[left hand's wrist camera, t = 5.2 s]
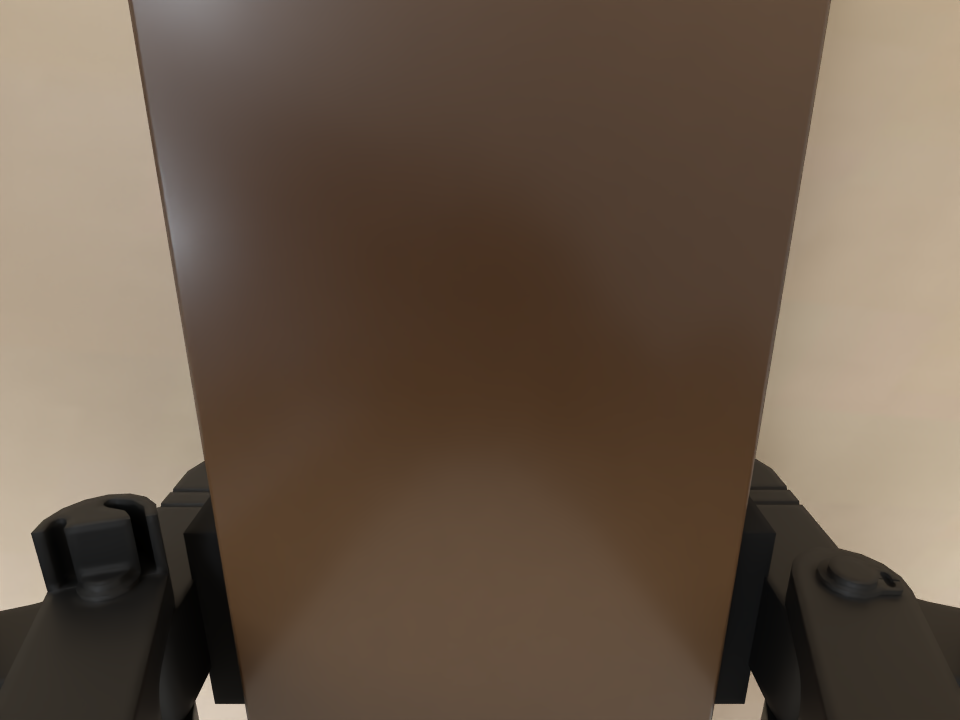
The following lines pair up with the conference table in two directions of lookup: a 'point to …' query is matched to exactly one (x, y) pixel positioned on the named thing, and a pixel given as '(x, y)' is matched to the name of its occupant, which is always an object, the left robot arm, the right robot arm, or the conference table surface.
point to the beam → (479, 335)
